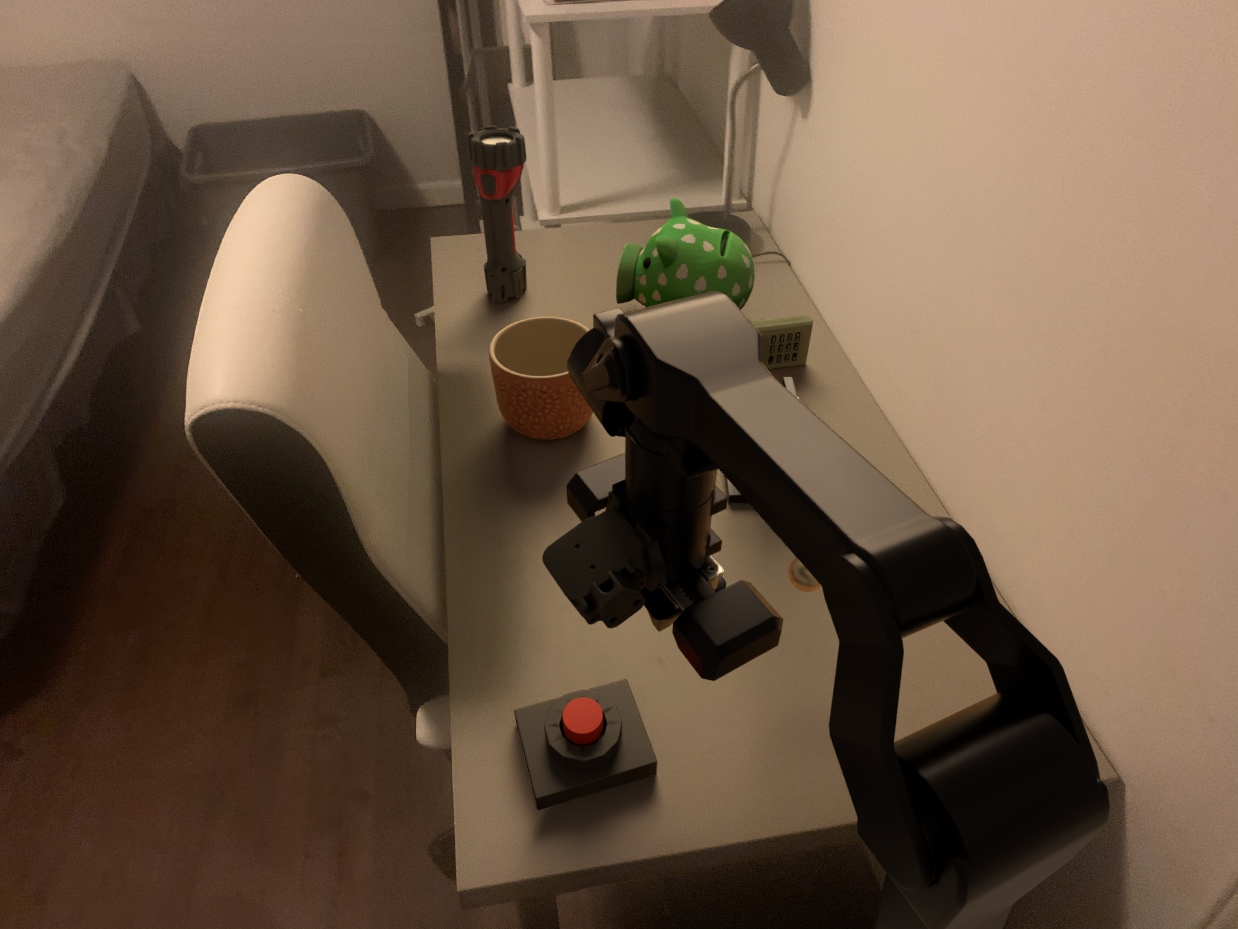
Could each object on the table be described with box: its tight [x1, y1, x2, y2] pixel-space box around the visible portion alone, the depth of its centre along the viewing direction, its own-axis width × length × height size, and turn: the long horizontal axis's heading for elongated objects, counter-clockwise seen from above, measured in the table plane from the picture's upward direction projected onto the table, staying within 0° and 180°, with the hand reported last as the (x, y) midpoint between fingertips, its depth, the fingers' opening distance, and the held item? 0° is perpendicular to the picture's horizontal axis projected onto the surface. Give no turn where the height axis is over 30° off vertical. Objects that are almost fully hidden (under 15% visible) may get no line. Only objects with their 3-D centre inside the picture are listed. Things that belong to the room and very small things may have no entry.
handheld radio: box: [750, 314, 814, 370], centre depth 103 cm, size 7×3×25 cm
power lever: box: [787, 556, 822, 593], centre depth 76 cm, size 26×3×3 cm, turn 0°
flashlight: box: [467, 124, 528, 304], centre depth 113 cm, size 8×8×23 cm
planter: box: [488, 316, 594, 441], centre depth 95 cm, size 12×12×11 cm
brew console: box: [513, 678, 658, 812], centre depth 66 cm, size 10×8×4 cm
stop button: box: [562, 697, 603, 745], centre depth 64 cm, size 3×3×2 cm
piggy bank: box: [615, 197, 756, 311], centre depth 110 cm, size 14×18×15 cm
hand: (661, 626), depth 61 cm, fingers closed
